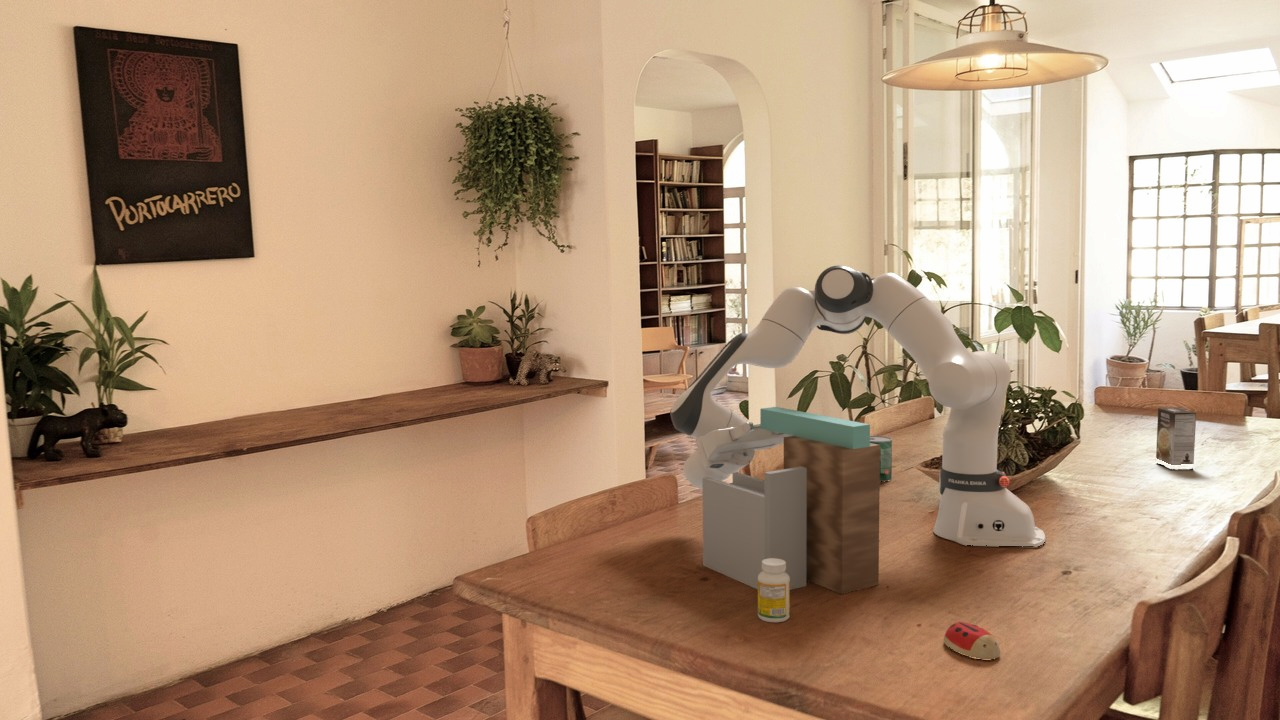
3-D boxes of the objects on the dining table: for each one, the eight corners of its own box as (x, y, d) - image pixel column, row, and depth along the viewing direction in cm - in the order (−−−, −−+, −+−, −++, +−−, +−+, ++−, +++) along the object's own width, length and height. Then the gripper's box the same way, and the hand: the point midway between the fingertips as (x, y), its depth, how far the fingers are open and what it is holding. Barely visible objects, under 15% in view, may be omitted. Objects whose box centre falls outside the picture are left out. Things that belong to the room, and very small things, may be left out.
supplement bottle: (778, 625, 162) (778, 568, 161) (751, 618, 166) (751, 562, 165) (796, 616, 166) (796, 560, 165) (768, 609, 170) (768, 554, 169)
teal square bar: (760, 428, 197) (760, 408, 197) (776, 426, 199) (776, 406, 199) (853, 449, 175) (853, 426, 175) (869, 446, 177) (869, 424, 177)
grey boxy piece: (703, 565, 194) (702, 454, 192) (737, 557, 198) (737, 449, 196) (770, 594, 177) (769, 473, 174) (806, 586, 181) (806, 467, 179)
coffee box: (1154, 463, 279) (1156, 407, 277) (1177, 463, 279) (1179, 406, 277) (1171, 470, 270) (1173, 412, 268) (1195, 470, 269) (1197, 412, 268)
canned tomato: (895, 477, 267) (896, 437, 265) (886, 483, 260) (886, 442, 259) (867, 474, 271) (867, 434, 270) (857, 480, 264) (857, 439, 263)
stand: (783, 570, 190) (783, 437, 187) (819, 562, 195) (819, 432, 192) (842, 594, 176) (842, 450, 174) (878, 584, 181) (879, 444, 178)
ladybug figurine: (979, 667, 145) (979, 643, 145) (931, 643, 154) (931, 621, 154) (1012, 658, 148) (1012, 635, 148) (963, 635, 157) (963, 614, 157)
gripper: (776, 456, 213) (814, 432, 202) (698, 468, 202) (734, 443, 191) (766, 429, 215) (803, 403, 204) (689, 440, 204) (724, 413, 193)
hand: (769, 423), depth 197 cm, fingers open, 8 cm apart
